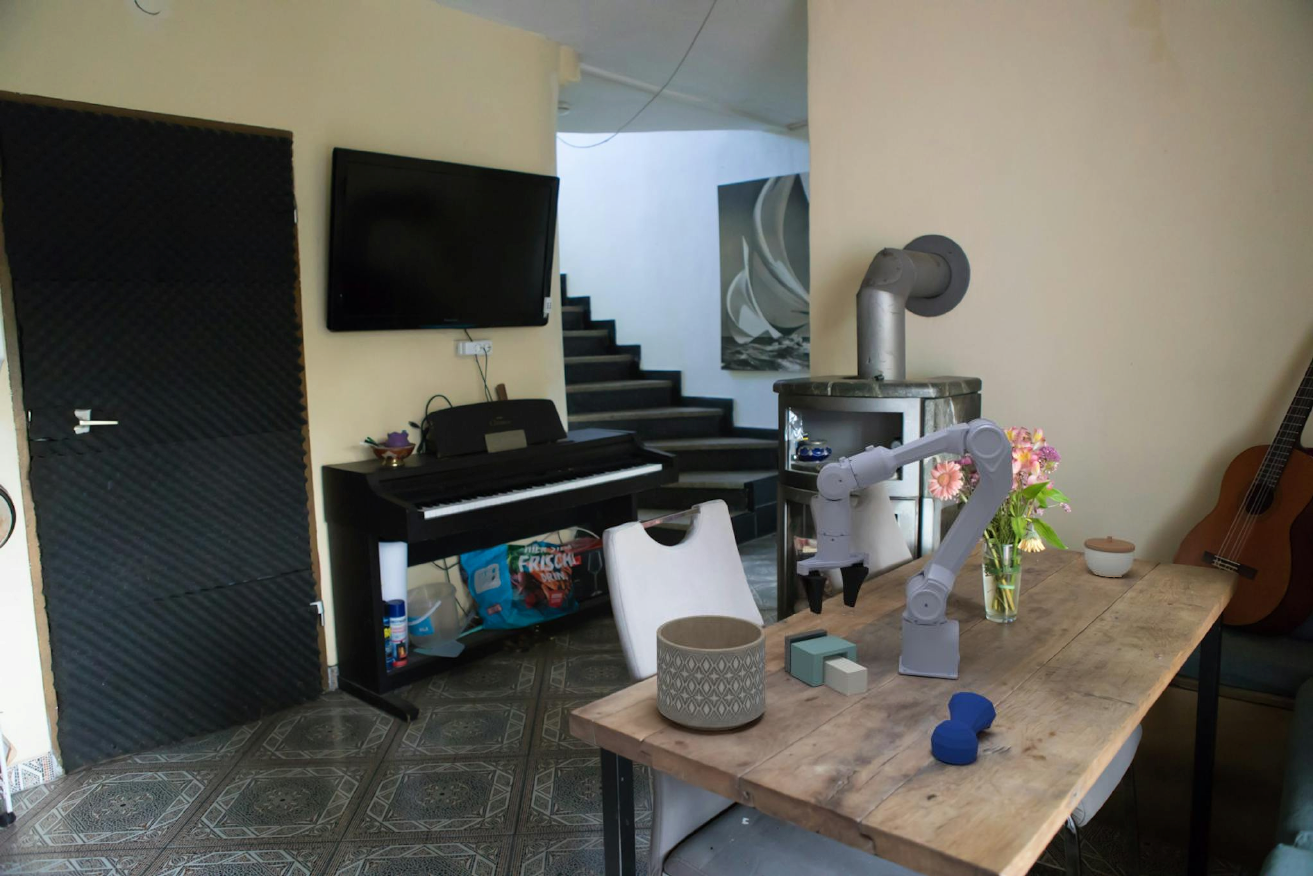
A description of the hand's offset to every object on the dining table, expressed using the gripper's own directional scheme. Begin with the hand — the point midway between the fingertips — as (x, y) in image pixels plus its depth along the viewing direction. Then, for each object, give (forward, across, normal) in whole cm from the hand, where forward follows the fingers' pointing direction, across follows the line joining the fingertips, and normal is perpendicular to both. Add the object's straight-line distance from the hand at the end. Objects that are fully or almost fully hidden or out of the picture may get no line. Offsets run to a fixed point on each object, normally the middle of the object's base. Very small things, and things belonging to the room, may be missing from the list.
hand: (832, 609), depth 155 cm
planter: (+10, +30, +7) cm, 32 cm away
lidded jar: (+10, -94, -10) cm, 95 cm away
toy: (+10, +5, +34) cm, 35 cm away
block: (+9, +6, +4) cm, 12 cm away
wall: (+9, +6, 0) cm, 11 cm away
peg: (+10, +6, +8) cm, 14 cm away
